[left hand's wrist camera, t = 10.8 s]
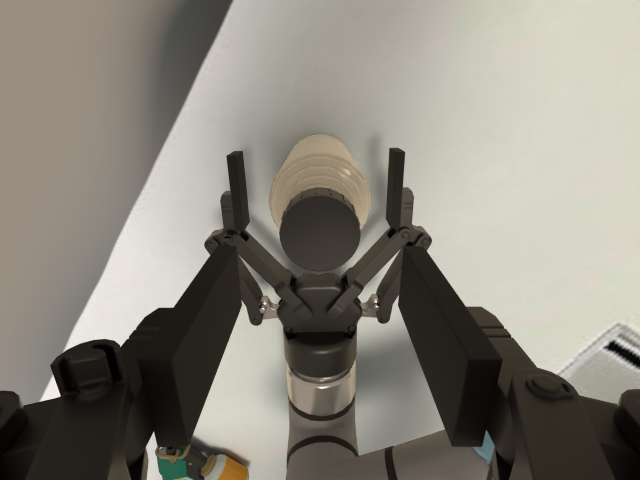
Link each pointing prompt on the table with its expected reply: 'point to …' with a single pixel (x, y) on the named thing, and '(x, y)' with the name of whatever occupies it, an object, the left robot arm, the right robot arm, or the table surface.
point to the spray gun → (197, 465)
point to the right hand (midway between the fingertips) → (315, 151)
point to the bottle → (319, 175)
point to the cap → (319, 229)
